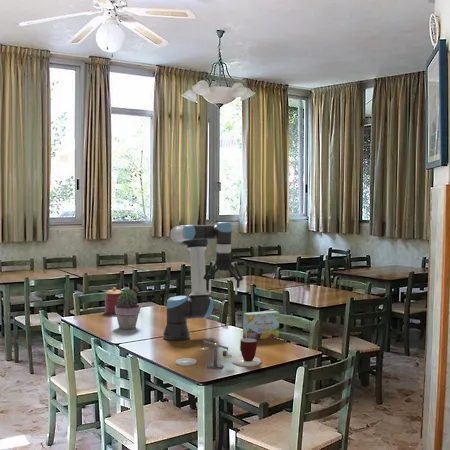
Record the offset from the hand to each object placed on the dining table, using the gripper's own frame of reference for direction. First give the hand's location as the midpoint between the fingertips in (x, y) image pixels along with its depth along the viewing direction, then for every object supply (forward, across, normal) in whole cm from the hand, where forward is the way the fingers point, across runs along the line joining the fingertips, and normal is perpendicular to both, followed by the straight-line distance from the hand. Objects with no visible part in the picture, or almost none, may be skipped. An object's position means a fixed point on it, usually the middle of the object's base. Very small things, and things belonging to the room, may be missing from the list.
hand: (222, 293), depth 294 cm
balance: (+31, 0, -23) cm, 39 cm away
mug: (+30, +14, -13) cm, 36 cm away
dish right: (+31, +14, -13) cm, 37 cm away
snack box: (+32, +18, +38) cm, 53 cm away
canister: (+33, -87, +92) cm, 131 cm away
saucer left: (+31, -15, -19) cm, 40 cm away
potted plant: (+32, -65, +48) cm, 87 cm away
